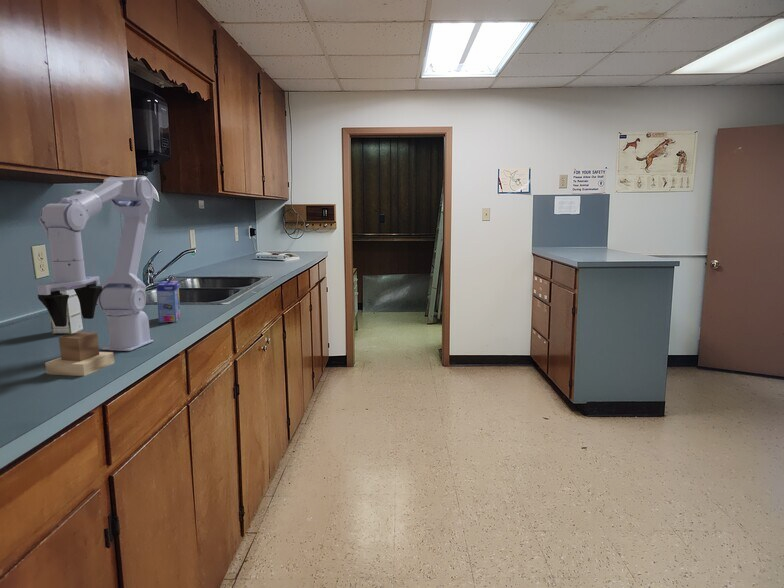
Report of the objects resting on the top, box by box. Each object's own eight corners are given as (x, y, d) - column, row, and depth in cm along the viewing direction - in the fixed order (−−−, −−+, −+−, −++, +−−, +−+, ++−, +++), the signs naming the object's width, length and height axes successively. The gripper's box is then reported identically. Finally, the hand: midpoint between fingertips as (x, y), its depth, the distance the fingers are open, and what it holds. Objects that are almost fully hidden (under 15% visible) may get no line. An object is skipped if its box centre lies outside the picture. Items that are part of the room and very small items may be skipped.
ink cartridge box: (177, 322, 150) (174, 277, 148) (158, 323, 149) (154, 277, 146) (181, 316, 160) (178, 273, 157) (163, 317, 158) (159, 273, 156)
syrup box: (83, 329, 141) (78, 281, 139) (71, 334, 136) (65, 284, 133) (64, 329, 141) (58, 281, 139) (50, 334, 135) (44, 284, 133)
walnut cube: (80, 353, 108) (78, 331, 108) (99, 354, 107) (97, 333, 106) (61, 359, 104) (58, 337, 103) (80, 361, 103) (78, 338, 102)
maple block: (79, 363, 111) (78, 350, 110) (114, 364, 110) (113, 352, 109) (46, 376, 102) (45, 362, 102) (84, 378, 101) (82, 364, 100)
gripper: (77, 257, 110) (84, 314, 112) (20, 263, 96) (29, 329, 98) (105, 257, 109) (111, 315, 111) (52, 264, 95) (60, 330, 97)
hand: (75, 322), depth 104 cm, fingers open, 7 cm apart
